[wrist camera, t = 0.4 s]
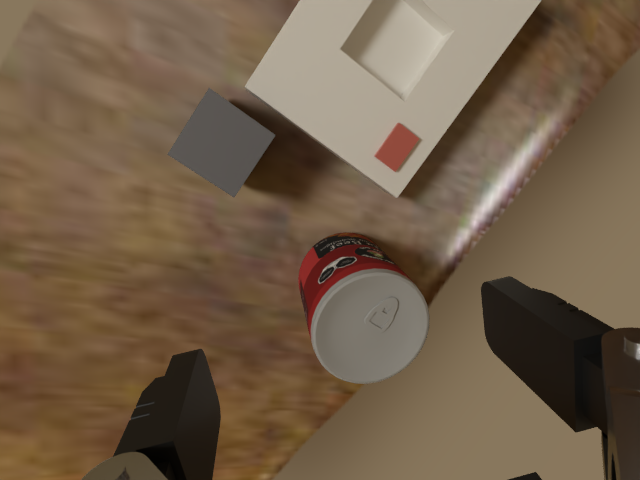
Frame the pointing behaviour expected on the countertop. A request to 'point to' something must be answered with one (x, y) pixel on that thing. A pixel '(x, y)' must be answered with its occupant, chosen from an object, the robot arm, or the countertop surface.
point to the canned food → (361, 309)
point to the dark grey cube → (221, 143)
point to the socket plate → (383, 75)
